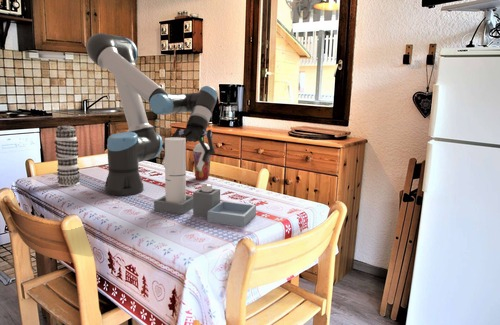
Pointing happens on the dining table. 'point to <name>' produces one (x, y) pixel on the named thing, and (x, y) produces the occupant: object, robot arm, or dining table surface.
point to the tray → (231, 213)
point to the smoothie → (206, 166)
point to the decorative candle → (67, 156)
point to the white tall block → (175, 169)
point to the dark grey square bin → (173, 205)
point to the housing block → (205, 201)
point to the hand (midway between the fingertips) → (181, 167)
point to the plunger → (207, 188)
